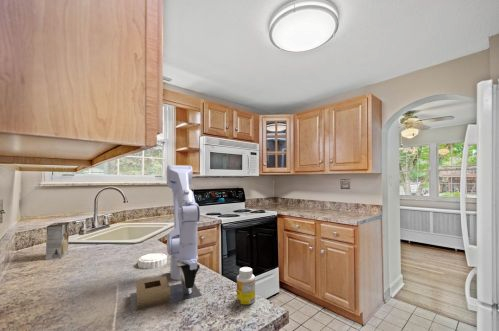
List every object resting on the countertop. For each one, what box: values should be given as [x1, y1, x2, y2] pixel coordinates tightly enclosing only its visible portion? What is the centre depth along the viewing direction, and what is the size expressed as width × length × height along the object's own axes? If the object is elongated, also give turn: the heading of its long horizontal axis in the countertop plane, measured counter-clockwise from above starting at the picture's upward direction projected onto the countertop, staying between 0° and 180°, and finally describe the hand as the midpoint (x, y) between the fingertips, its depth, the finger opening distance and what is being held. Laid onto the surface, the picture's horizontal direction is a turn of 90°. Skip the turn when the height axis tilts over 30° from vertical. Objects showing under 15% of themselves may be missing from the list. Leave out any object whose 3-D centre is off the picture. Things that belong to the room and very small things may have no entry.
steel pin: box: [177, 261, 193, 295], centre depth 76 cm, size 4×4×10 cm
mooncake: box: [137, 252, 168, 270], centre depth 105 cm, size 12×12×4 cm
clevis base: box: [130, 275, 203, 313], centre depth 75 cm, size 12×20×5 cm, turn 117°
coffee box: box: [45, 221, 70, 261], centre depth 117 cm, size 9×6×16 cm
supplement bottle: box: [236, 266, 256, 306], centre depth 71 cm, size 6×6×10 cm
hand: (188, 285), depth 76 cm, fingers closed on steel pin, 4 cm apart
